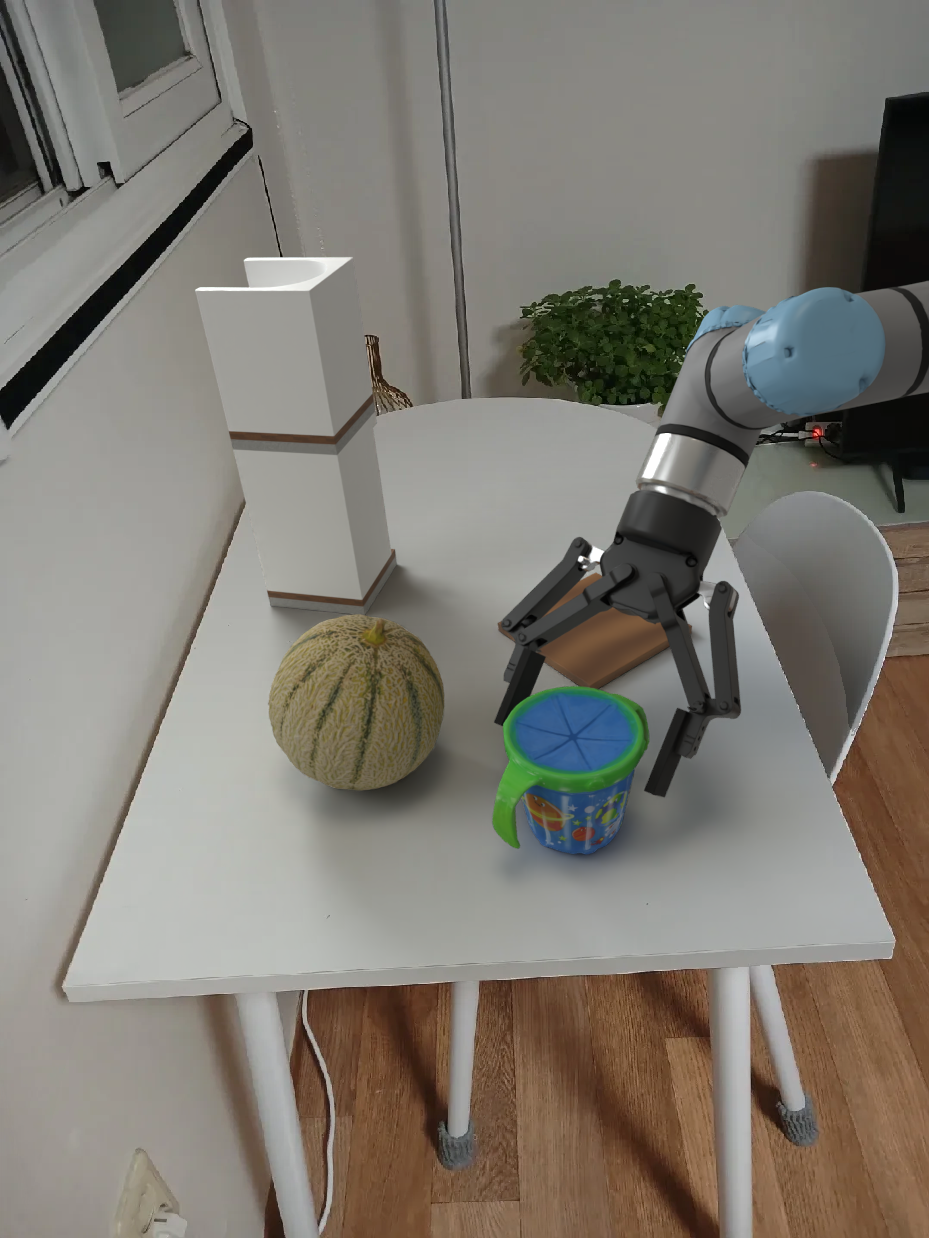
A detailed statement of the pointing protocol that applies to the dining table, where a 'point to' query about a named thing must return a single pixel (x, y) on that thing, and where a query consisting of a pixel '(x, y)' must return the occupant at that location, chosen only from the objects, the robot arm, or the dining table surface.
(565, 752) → the snack cup
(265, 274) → the striped white pillar
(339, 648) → the cantaloupe
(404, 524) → the dining table surface
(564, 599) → the wooden board
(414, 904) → the dining table surface
